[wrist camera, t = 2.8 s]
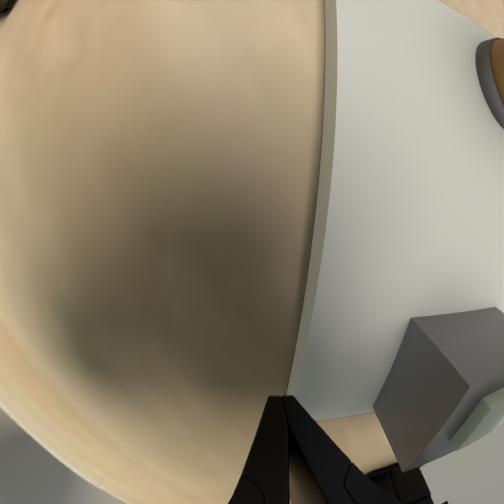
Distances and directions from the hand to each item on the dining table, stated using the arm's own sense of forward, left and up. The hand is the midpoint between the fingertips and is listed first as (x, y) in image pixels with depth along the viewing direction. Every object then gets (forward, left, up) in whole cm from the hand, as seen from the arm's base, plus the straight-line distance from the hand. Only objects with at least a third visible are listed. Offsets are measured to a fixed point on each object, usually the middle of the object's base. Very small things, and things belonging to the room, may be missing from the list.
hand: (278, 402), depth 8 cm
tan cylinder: (+13, -9, -1) cm, 15 cm away
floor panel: (+6, -12, -2) cm, 14 cm away
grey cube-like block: (0, -8, -1) cm, 8 cm away
